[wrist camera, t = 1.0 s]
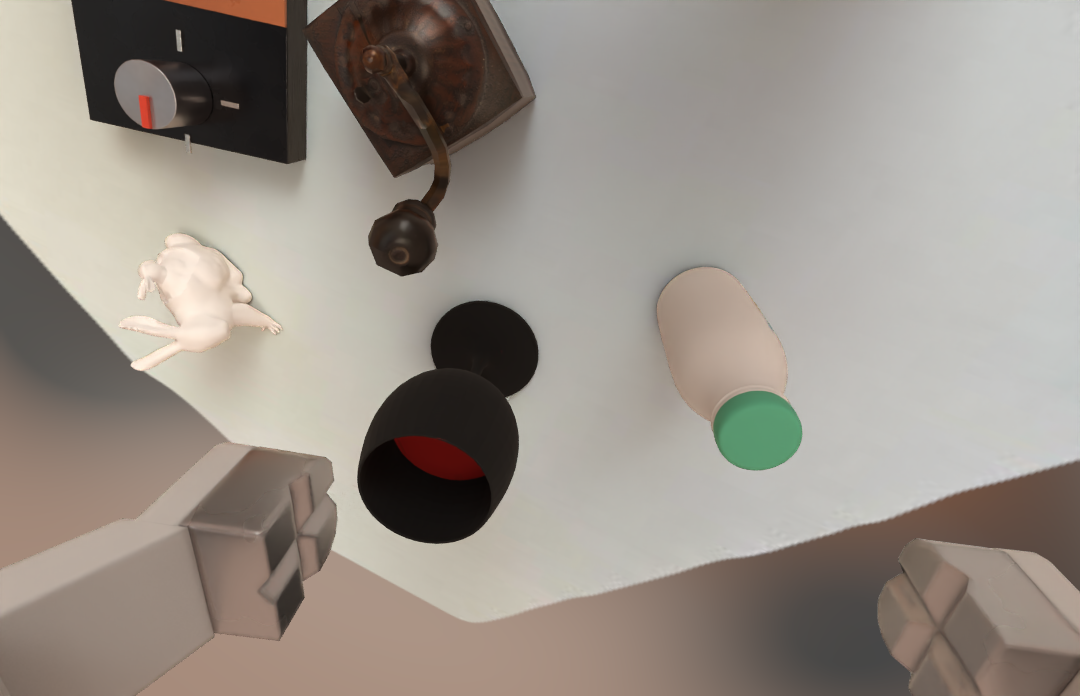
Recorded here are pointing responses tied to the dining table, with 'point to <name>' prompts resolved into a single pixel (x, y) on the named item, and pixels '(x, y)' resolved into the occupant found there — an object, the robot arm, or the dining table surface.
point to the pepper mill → (419, 97)
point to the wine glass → (450, 429)
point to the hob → (204, 70)
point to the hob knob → (162, 93)
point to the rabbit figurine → (194, 300)
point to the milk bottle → (729, 367)
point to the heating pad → (245, 9)
